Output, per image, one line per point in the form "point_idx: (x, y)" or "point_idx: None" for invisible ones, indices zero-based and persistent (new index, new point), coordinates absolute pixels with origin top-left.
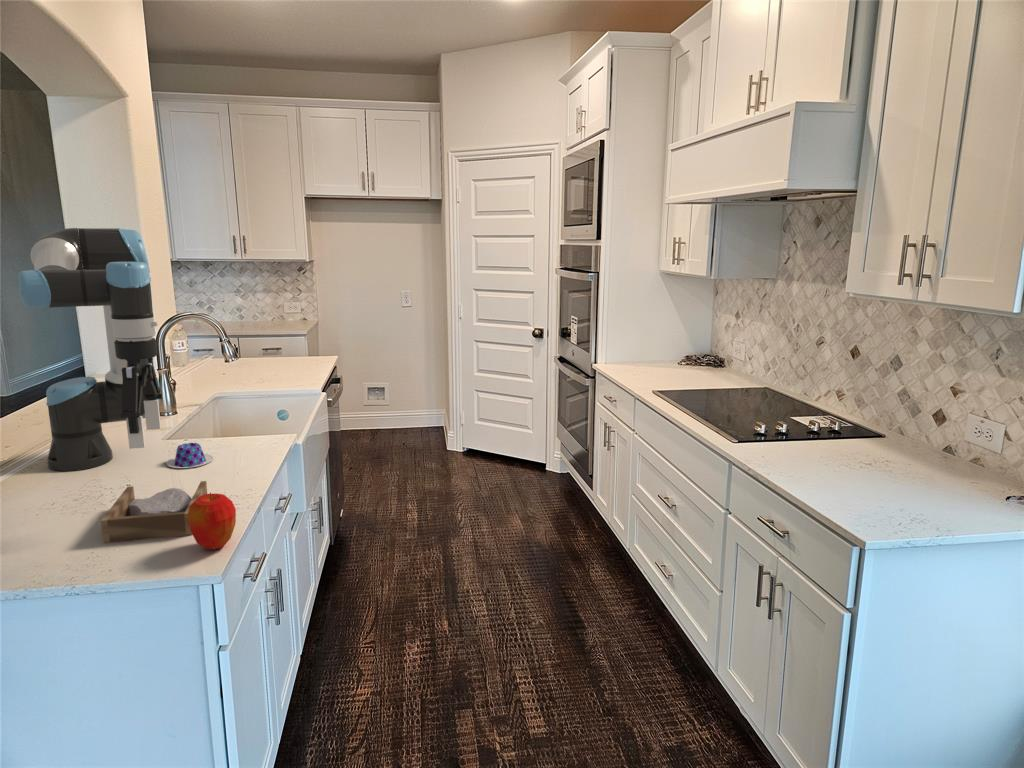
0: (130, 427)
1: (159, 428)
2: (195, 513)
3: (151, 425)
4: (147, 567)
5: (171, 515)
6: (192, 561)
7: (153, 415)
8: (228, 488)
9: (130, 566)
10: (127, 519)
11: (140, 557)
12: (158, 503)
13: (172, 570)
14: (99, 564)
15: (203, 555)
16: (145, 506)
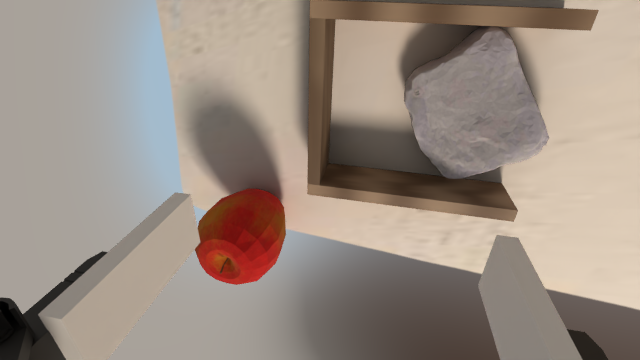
0: (67, 282)
1: (480, 285)
2: (200, 228)
3: (496, 272)
4: (204, 112)
5: (308, 160)
6: (218, 175)
7: (511, 337)
8: (559, 230)
9: (209, 83)
10: (309, 68)
11: (241, 94)
12: (452, 110)
13: (192, 150)
14: (222, 21)
15: (236, 189)
16: (437, 83)
